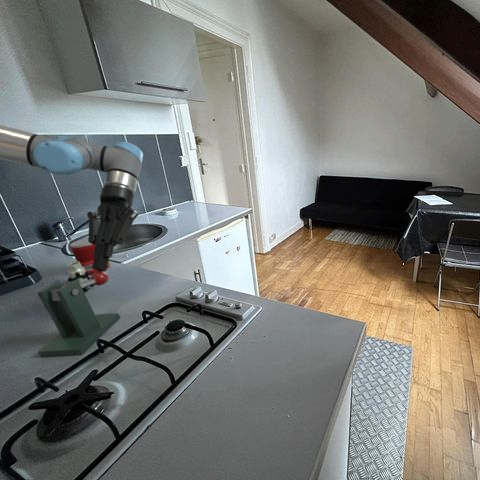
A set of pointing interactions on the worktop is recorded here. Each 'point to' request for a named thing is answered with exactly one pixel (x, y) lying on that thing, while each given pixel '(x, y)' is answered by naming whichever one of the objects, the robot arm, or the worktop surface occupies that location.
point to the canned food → (84, 254)
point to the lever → (84, 283)
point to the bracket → (73, 320)
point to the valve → (78, 274)
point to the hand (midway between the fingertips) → (98, 269)
